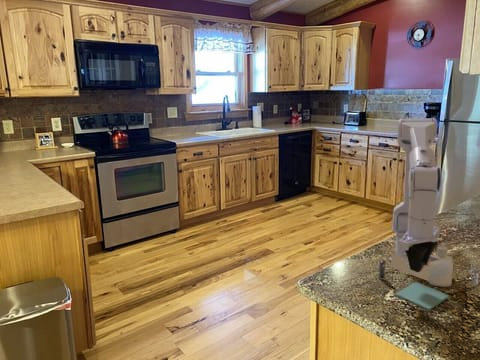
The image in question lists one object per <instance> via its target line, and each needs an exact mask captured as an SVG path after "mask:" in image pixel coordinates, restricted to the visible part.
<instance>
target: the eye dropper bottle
mask: <svg viewBox="0 0 480 360" xmlns="http://www.w3.org/2000/svg"><path fill="white" fill-rule="evenodd" d="M433 255H434V256H438V257H441V258H444V259H447V260H451V264H450V271H449V274H447V275H444V276H441V277H438V278H435V279H432V280H429V281H427V282H428V284H429V285H431V286H435V287H442V288H443V287H444V288H445V287H446V288H447V287H451V286H452V281H453V273H454V272H453V270H454V259H453V258H452V257H451V256H449V255H448V247H446V244H445V242H441V243H440V246H437V251H436V254H433Z"/></svg>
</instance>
